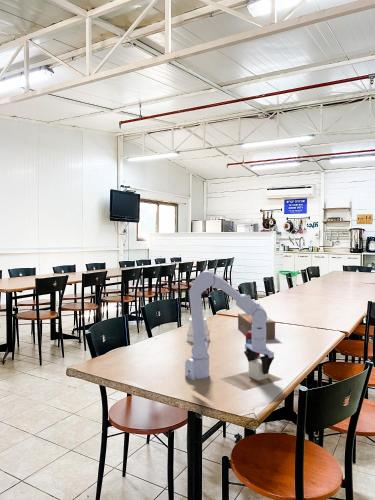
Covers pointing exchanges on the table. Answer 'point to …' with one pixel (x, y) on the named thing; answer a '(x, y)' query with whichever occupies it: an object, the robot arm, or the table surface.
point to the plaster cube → (257, 370)
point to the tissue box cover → (246, 325)
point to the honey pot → (190, 330)
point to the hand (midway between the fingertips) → (258, 370)
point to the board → (248, 380)
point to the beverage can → (250, 339)
